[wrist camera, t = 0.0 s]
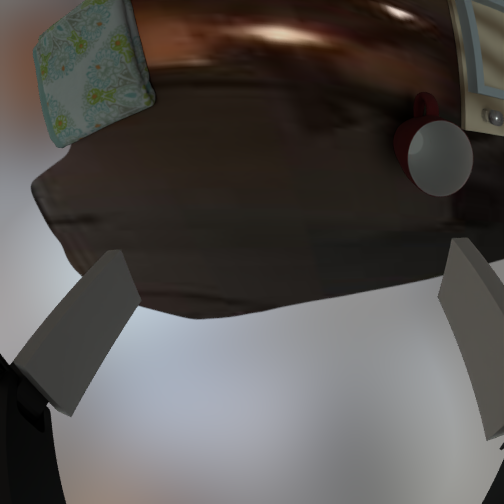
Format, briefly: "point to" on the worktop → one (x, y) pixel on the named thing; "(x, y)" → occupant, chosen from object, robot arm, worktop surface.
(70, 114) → the towel
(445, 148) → the mug
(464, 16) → the bay
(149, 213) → the worktop surface
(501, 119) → the peg
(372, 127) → the worktop surface
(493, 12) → the board
